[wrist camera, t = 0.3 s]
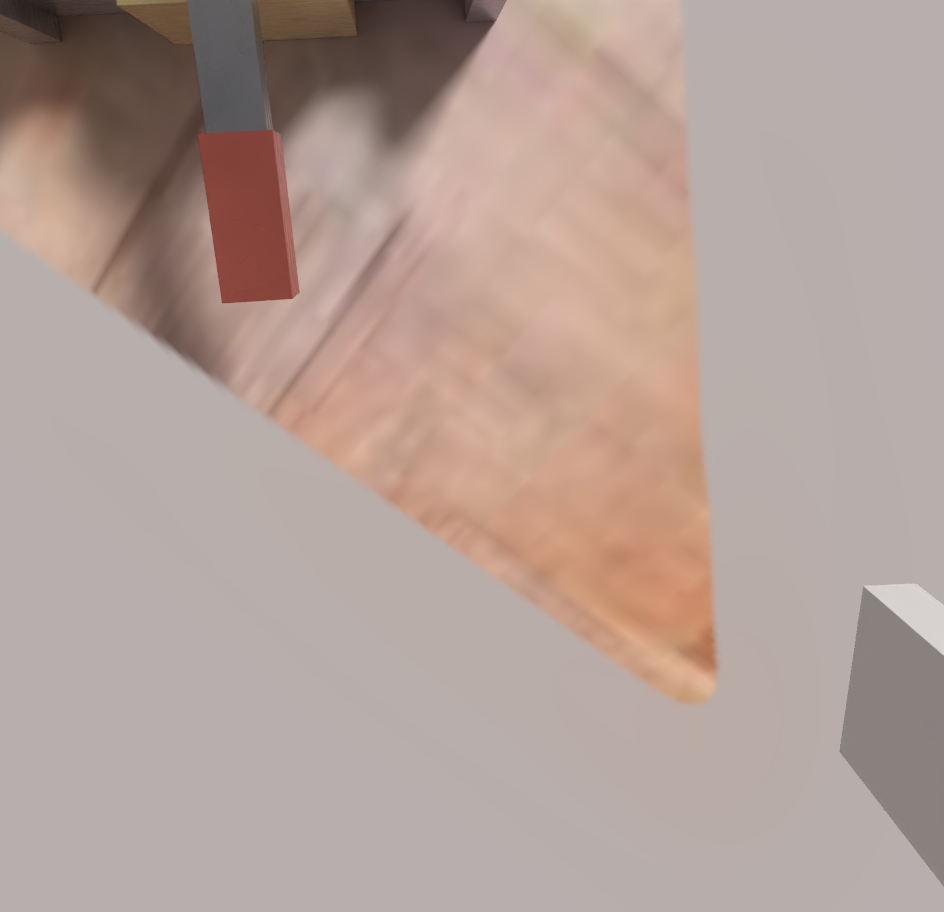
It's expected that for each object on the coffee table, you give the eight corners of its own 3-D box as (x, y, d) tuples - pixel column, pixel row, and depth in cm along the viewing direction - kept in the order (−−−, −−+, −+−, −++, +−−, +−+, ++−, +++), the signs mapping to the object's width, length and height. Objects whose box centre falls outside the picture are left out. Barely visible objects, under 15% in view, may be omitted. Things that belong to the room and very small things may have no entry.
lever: (148, -197, 24) (121, -238, 22) (260, -201, 24) (245, -243, 22) (220, 296, 28) (203, 305, 26) (315, 290, 29) (307, 298, 26)
